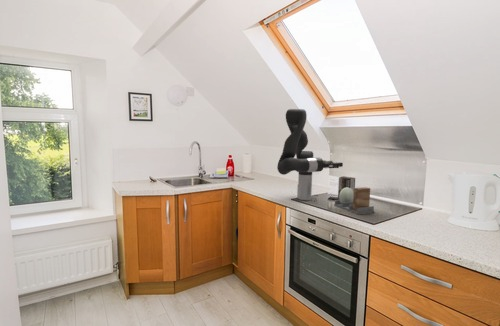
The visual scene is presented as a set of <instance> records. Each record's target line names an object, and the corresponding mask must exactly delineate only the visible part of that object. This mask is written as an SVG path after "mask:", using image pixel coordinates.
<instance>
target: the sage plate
mask: <svg viewBox="0 0 500 326" xmlns="http://www.w3.org/2000/svg"><path fill="white" fill-rule="evenodd" d="M353 195H354V192H353V190H352V189H351V188H348V187H346V188H343V189H342V190H341V192H340V194H339V200H340V202H341V203H344V202H352V201H353Z"/></svg>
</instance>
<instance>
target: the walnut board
mask: <svg viewBox="0 0 500 326" xmlns="http://www.w3.org/2000/svg"><path fill="white" fill-rule="evenodd" d="M370 200H371V187H367V186H365V187H364V186H363V187H355V188H354V195H353V210H354V211H357V208H361V207H369V206H370Z"/></svg>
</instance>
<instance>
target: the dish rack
mask: <svg viewBox="0 0 500 326" xmlns="http://www.w3.org/2000/svg"><path fill="white" fill-rule="evenodd" d="M333 206H334V207H337V208H340V209H342V210H345V211H347V212H351V213H353V214H356V215H366V214H372V213H373V214H374V213H375V210H374V209H375V206H374V205H369V207H361V208H357V211H354V210H353V202H344V203H341V202H340V200H338V199H335V200H334V204H333Z"/></svg>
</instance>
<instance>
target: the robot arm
mask: <svg viewBox="0 0 500 326" xmlns="http://www.w3.org/2000/svg"><path fill="white" fill-rule="evenodd" d="M307 115H308V114H307V111H306V110H305V109H304V108H290V109H287V110H286V112H285V121H286V124H287V127H288V130H289V131H290V135H288V137H287V138H286V139H285V141H284V144H283V149H282V153H281V155H280V158H279V160H278V163H277V171H278V173H279V174H280V175H283V176H285V175H287V174H289V173H291V172H294V171H295V172H297V173H298V177H297V178H298V179H297V180H298V181H297V182H298V183H297V192H296V193H297V197H296V198H297V200H300V201H310V200H312V194H313V193H312V190H313V189H312V188H313V173H316V172H317V173H318V172H322V171H324V169H339V168H343V165H344V163H343V162H334V161H333V160H324V159H322V158H321V157H314V152H313V151H312V150H311V151H310V150H305V148H306V147H307V145H308V144H309V138H308V135H307V133H306V131H305V130H304V128H305V125H306V123H307Z"/></svg>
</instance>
